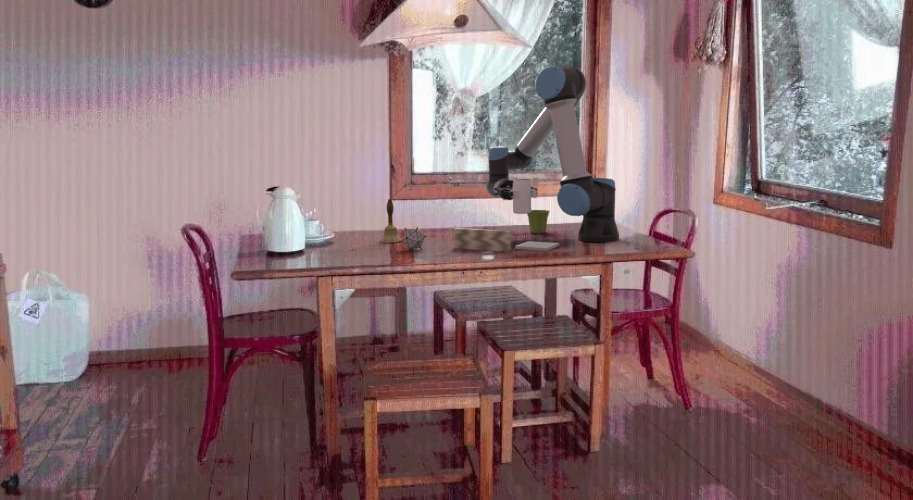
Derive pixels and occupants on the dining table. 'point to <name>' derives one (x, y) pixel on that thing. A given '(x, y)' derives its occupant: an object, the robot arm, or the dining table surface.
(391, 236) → the hand bell
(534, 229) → the plant pot
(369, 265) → the dining table surface
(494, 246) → the beige brown patterned panel
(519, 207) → the can
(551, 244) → the pad
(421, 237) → the game die
